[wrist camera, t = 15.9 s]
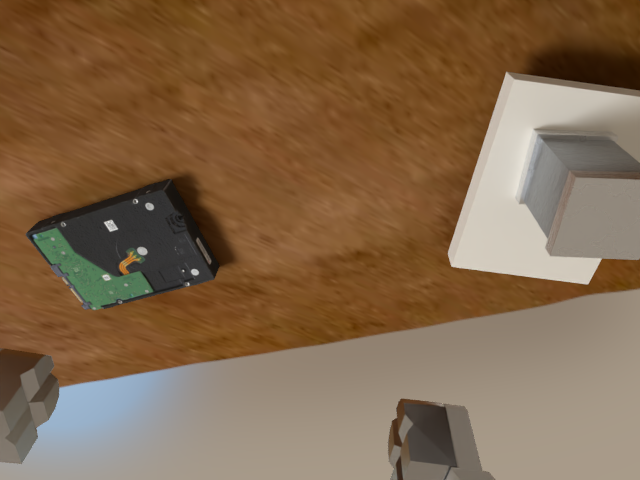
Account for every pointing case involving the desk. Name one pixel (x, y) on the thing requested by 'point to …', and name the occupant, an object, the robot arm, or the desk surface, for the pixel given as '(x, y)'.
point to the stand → (507, 164)
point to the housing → (583, 193)
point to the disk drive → (126, 247)
